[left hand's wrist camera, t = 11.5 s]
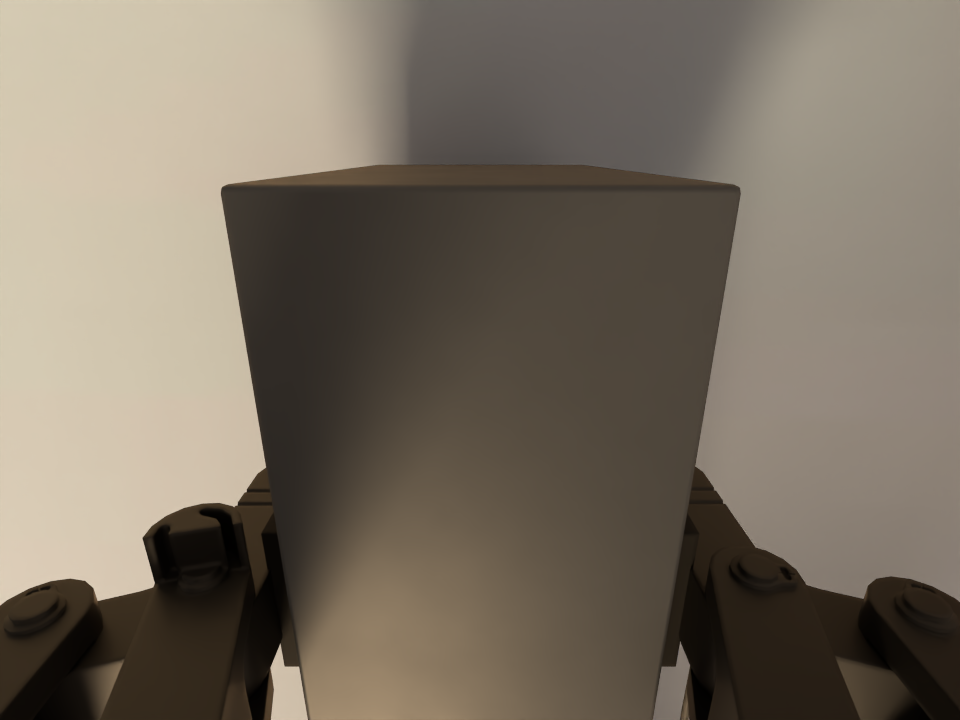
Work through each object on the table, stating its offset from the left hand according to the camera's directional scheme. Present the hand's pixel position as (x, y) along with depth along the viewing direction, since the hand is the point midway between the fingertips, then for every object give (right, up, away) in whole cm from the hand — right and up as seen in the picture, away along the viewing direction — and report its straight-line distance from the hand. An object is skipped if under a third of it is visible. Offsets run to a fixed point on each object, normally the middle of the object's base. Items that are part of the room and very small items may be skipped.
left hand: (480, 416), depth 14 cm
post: (0, -25, +11) cm, 27 cm away
